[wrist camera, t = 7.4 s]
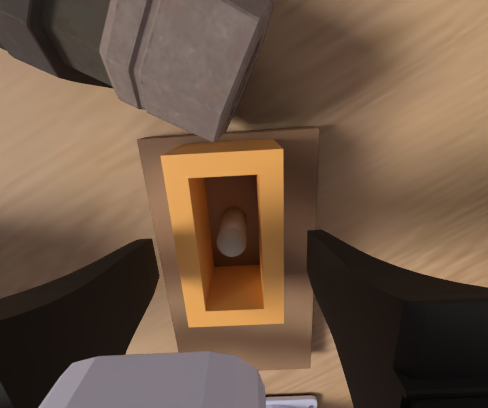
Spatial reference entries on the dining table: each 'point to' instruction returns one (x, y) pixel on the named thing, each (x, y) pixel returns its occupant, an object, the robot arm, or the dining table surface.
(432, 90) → the dining table surface
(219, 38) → the tube
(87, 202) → the dining table surface
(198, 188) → the link
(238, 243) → the keeper base
